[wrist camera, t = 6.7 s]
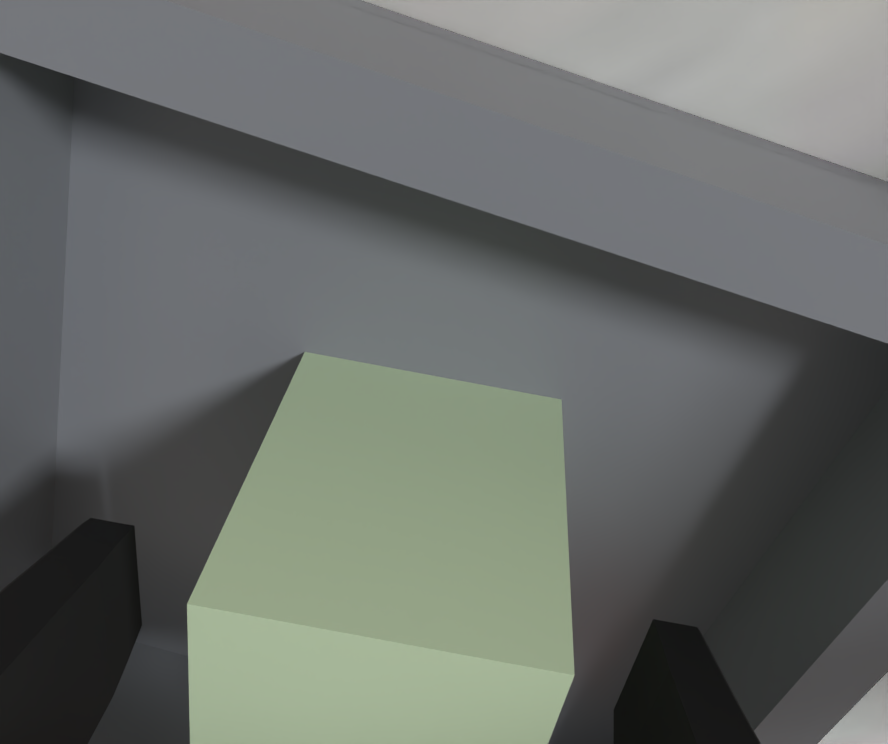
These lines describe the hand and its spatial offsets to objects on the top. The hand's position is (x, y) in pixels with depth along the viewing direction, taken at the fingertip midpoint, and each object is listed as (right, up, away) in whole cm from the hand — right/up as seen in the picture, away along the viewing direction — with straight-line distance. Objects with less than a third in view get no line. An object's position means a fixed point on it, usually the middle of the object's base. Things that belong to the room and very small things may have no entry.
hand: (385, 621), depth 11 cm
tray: (0, +2, +3) cm, 3 cm away
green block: (0, +2, +2) cm, 3 cm away
